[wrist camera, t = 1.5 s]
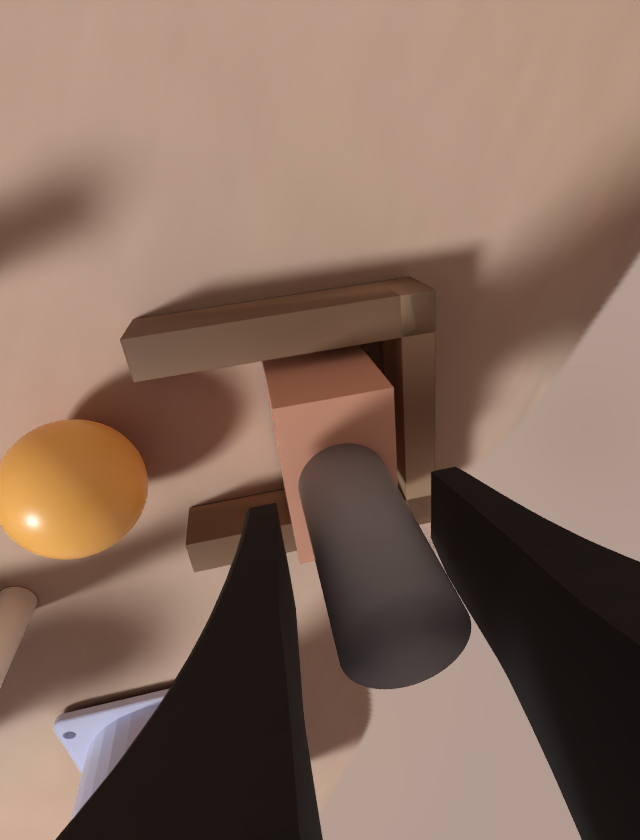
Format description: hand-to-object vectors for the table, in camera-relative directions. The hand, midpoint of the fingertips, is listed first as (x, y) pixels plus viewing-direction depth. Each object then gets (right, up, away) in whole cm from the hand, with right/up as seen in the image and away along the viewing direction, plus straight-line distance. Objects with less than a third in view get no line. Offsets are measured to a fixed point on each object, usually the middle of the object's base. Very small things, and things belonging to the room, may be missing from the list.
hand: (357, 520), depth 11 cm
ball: (-8, 0, +3) cm, 8 cm away
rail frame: (-2, +2, +5) cm, 6 cm away
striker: (-1, +3, +5) cm, 6 cm away
